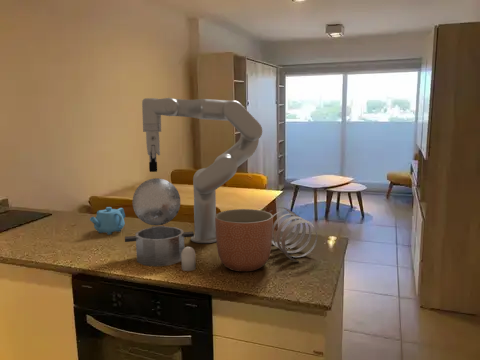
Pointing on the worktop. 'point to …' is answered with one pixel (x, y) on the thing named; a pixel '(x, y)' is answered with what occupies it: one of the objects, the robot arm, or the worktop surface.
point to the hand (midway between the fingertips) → (153, 171)
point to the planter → (244, 238)
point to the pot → (159, 245)
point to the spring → (288, 232)
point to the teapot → (109, 220)
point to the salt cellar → (188, 259)
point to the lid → (156, 201)
